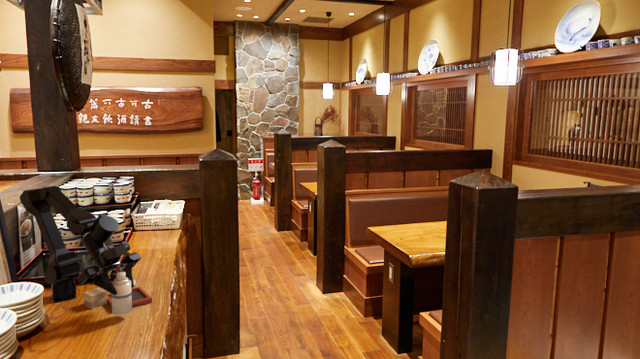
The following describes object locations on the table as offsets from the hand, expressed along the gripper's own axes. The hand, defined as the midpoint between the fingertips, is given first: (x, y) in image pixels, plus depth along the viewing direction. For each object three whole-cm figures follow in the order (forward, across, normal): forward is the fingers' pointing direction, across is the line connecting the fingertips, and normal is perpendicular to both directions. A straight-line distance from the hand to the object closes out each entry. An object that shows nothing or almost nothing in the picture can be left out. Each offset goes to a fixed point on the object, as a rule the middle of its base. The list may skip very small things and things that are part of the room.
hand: (124, 290), depth 130 cm
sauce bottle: (-17, +18, +31) cm, 40 cm away
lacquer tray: (0, +9, +13) cm, 16 cm away
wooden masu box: (-5, +2, +18) cm, 19 cm away
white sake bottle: (+4, 0, +6) cm, 7 cm away
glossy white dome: (-8, +18, +22) cm, 29 cm away
